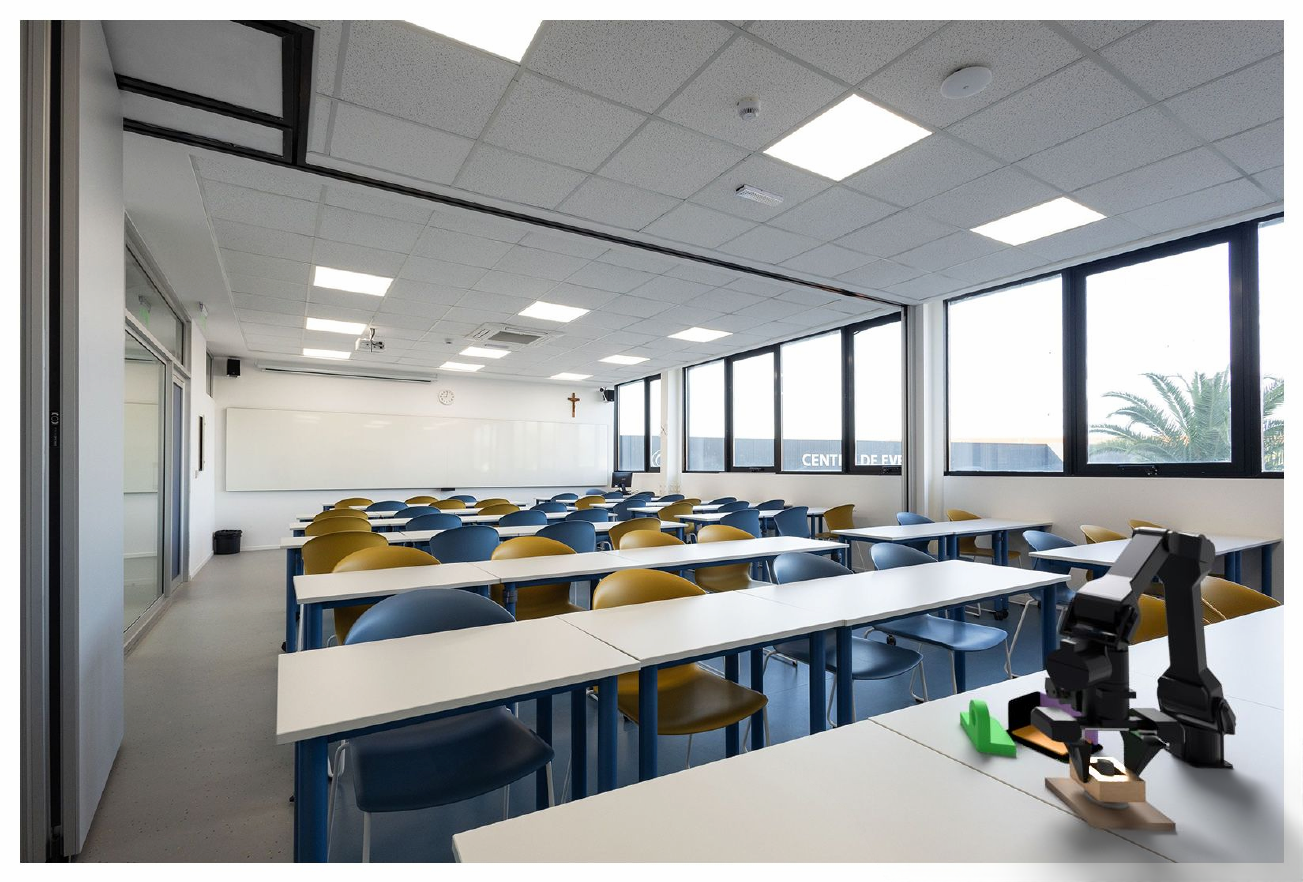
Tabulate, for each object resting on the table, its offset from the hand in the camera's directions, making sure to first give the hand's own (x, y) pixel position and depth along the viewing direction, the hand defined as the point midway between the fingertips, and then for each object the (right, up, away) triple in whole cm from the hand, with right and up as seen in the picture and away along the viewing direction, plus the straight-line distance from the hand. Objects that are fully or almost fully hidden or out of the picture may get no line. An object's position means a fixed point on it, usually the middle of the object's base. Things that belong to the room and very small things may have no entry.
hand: (1105, 781), depth 88 cm
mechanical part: (-5, -5, +22) cm, 23 cm away
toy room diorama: (+5, -5, +20) cm, 21 cm away
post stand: (0, -4, 0) cm, 4 cm away
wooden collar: (0, -1, 0) cm, 1 cm away
